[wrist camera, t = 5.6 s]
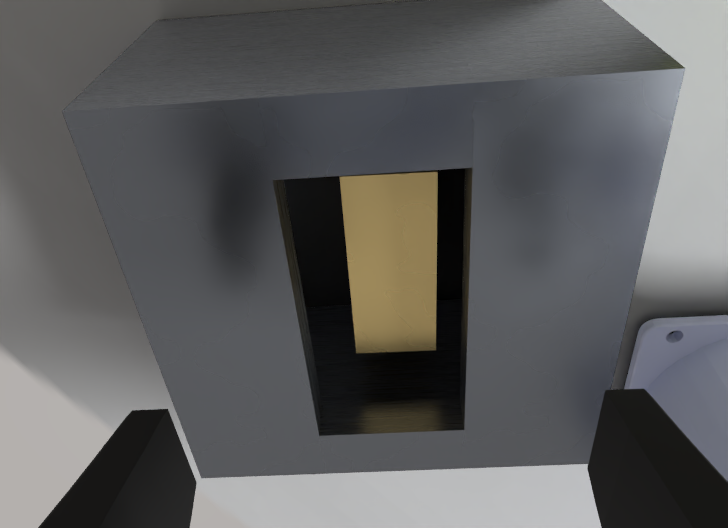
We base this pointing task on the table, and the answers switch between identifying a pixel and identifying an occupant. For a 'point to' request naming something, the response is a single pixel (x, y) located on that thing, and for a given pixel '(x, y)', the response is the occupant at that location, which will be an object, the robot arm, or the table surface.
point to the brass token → (392, 259)
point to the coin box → (373, 156)
